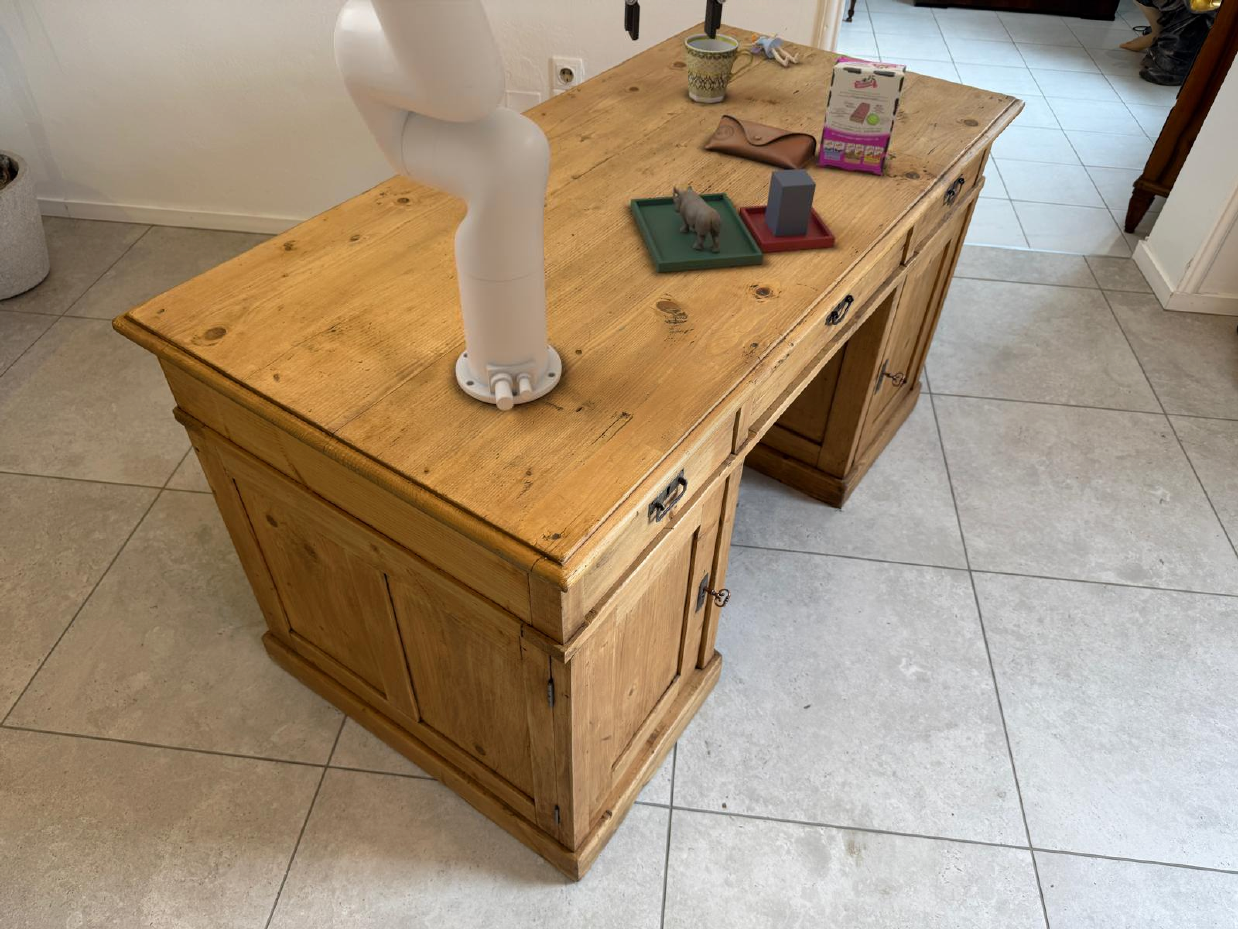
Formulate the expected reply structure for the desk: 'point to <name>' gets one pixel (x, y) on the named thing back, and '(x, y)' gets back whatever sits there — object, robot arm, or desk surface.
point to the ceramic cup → (711, 65)
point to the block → (789, 202)
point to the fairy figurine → (771, 48)
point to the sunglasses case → (763, 143)
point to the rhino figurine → (697, 217)
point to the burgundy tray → (768, 242)
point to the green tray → (693, 236)
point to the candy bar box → (860, 115)
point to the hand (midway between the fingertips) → (671, 36)
